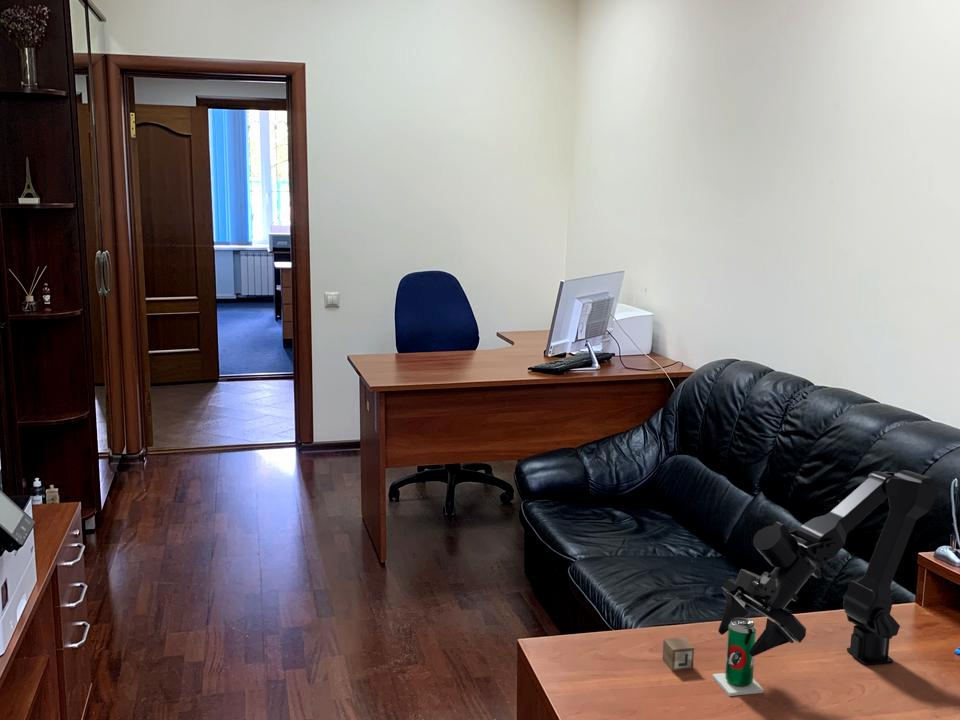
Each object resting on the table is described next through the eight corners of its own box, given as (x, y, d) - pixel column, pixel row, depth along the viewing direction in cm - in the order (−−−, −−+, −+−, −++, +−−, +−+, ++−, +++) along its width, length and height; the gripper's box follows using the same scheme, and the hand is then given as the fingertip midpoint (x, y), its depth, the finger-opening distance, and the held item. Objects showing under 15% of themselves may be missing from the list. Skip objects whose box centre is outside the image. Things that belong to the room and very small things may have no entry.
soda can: (756, 688, 165) (760, 628, 163) (729, 688, 165) (733, 628, 163) (747, 674, 170) (751, 616, 168) (721, 674, 170) (725, 616, 168)
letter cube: (683, 658, 178) (684, 637, 177) (693, 670, 173) (694, 648, 172) (662, 660, 177) (663, 639, 176) (672, 672, 172) (673, 650, 171)
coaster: (745, 673, 171) (745, 671, 171) (763, 692, 165) (763, 689, 165) (712, 677, 170) (712, 674, 170) (729, 696, 163) (729, 693, 163)
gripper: (732, 539, 174) (682, 599, 171) (797, 574, 156) (743, 642, 154) (762, 571, 178) (713, 631, 175) (829, 609, 160) (776, 676, 158)
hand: (734, 643), depth 166 cm, fingers open, 9 cm apart
